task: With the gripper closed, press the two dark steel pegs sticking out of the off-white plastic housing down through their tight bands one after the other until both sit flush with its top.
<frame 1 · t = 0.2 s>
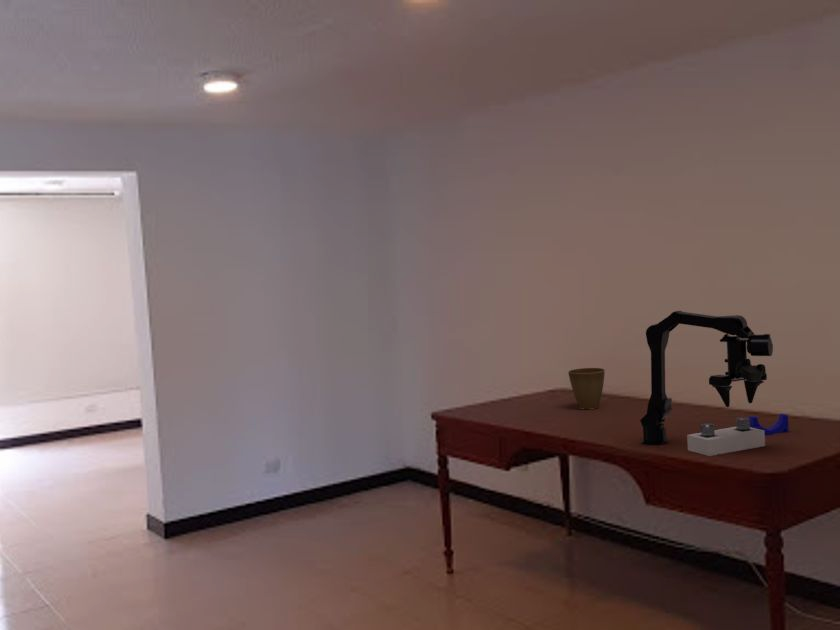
hand: (739, 405, 271), 14 cm above the table, fingers open, 9 cm apart
plant pot: (588, 408, 358), on the table
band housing: (726, 448, 273), on the table
near peg: (707, 431, 270), point 6 cm above the table, slide at 3.5 cm
blue arch block: (770, 434, 290), on the table
far peg: (742, 425, 275), point 6 cm above the table, slide at 3.5 cm
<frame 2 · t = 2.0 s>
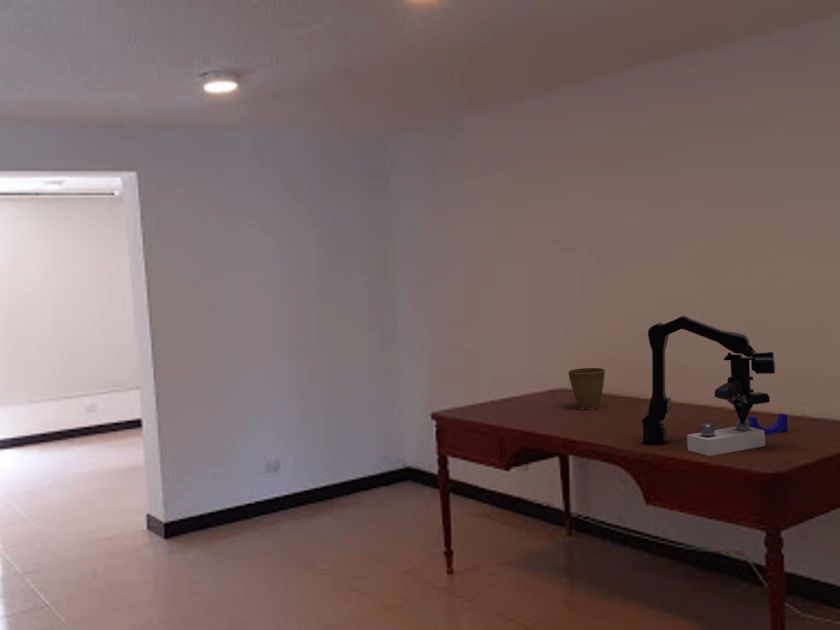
hand: (742, 422, 275), 7 cm above the table, fingers closed, pressing on far peg
far peg: (743, 429, 275), point 5 cm above the table, slide at 2.4 cm, touching gripper
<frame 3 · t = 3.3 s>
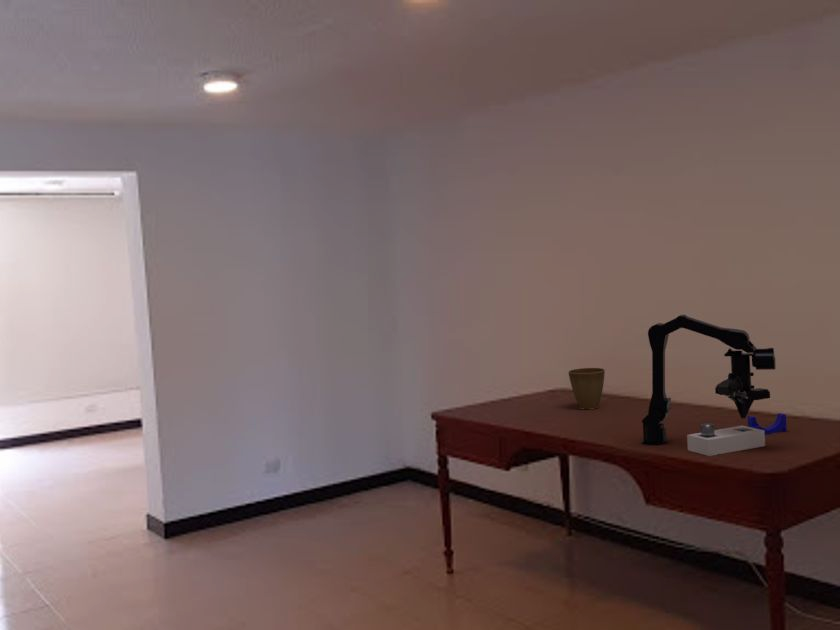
hand: (743, 418, 275), 9 cm above the table, fingers closed
far peg: (743, 436, 275), point 3 cm above the table, slide at 0.1 cm
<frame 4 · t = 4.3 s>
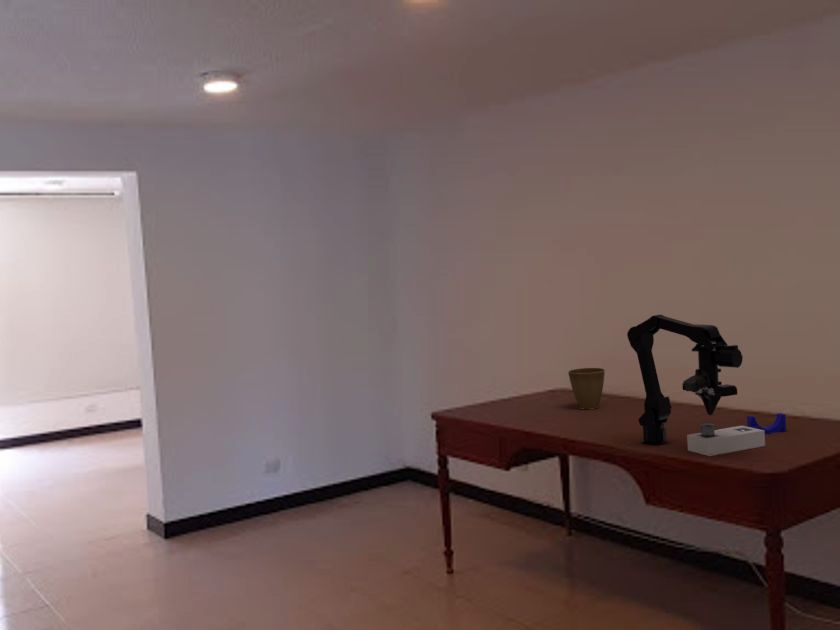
hand: (710, 415, 270), 11 cm above the table, fingers closed
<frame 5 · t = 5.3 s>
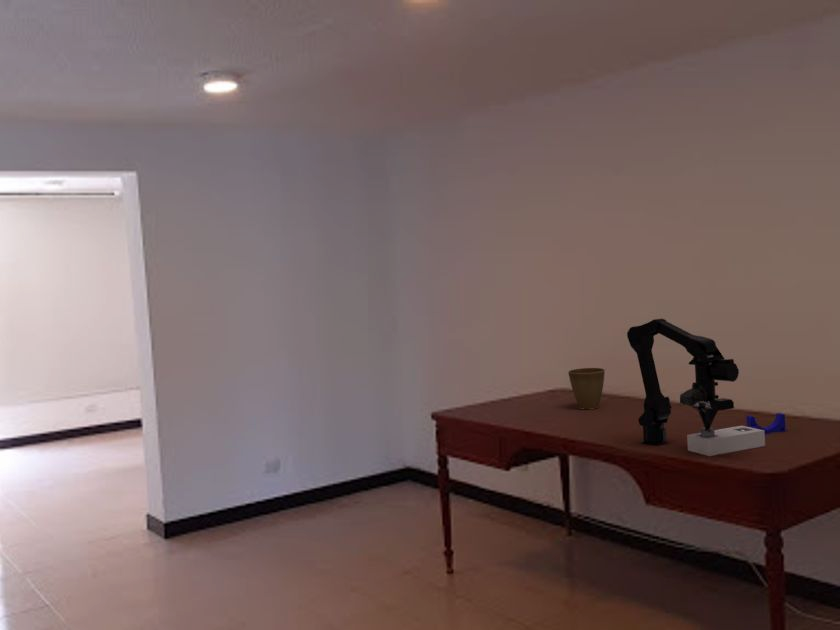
hand: (707, 428, 270), 7 cm above the table, fingers closed, pressing on near peg
near peg: (707, 435, 270), point 5 cm above the table, slide at 2.3 cm, touching gripper
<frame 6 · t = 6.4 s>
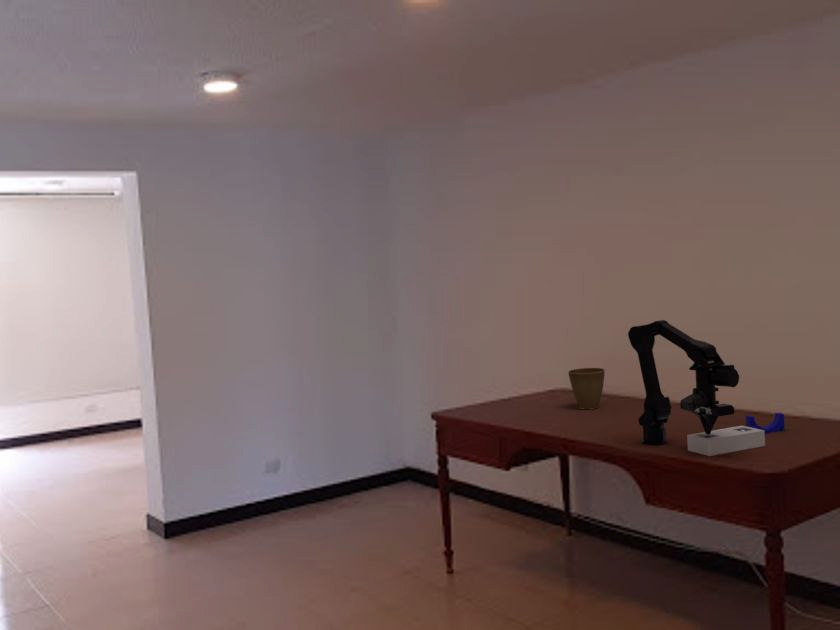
hand: (708, 434, 270), 6 cm above the table, fingers closed
near peg: (708, 442, 270), point 3 cm above the table, slide at 0.1 cm
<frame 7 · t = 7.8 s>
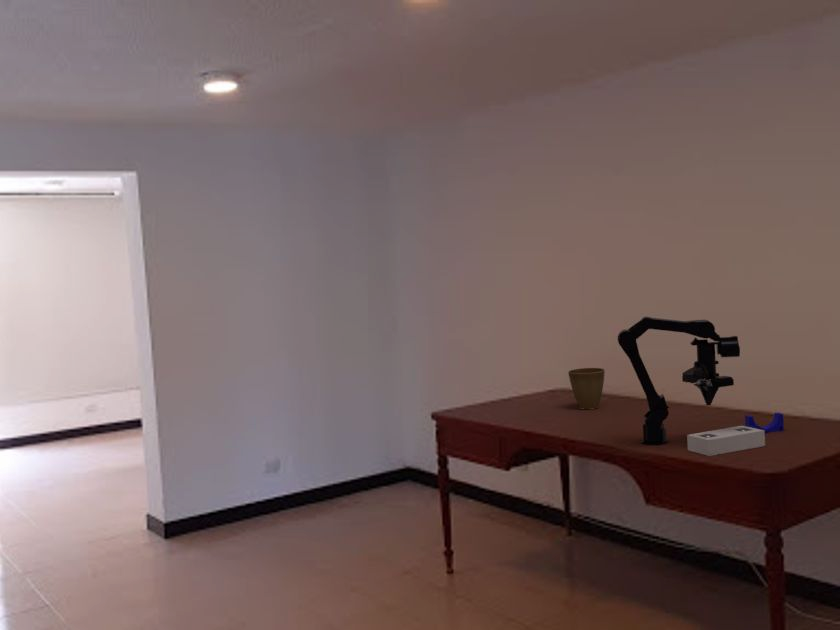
hand: (708, 405, 283), 12 cm above the table, fingers closed
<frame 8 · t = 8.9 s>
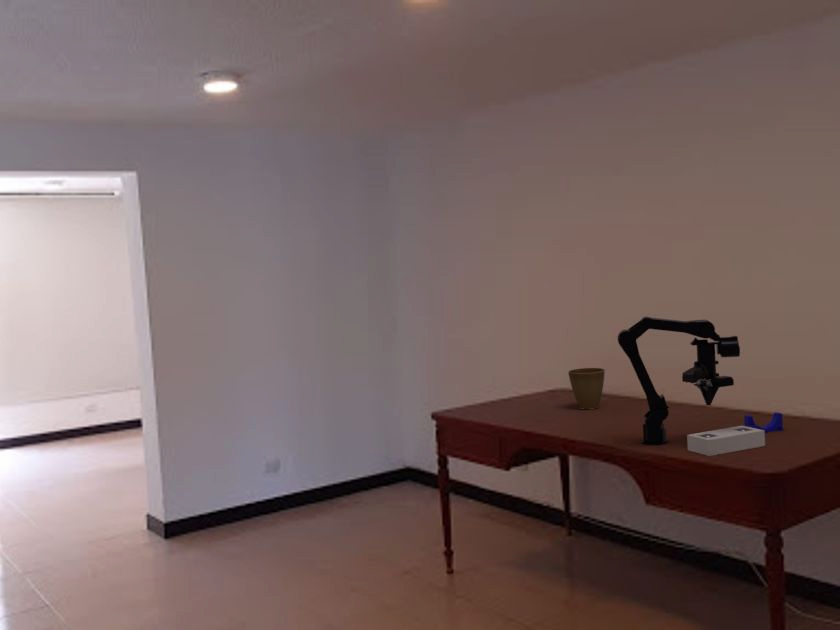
hand: (708, 405, 283), 12 cm above the table, fingers closed
at the end: far peg slide at 0.1 cm; near peg slide at 0.1 cm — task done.
